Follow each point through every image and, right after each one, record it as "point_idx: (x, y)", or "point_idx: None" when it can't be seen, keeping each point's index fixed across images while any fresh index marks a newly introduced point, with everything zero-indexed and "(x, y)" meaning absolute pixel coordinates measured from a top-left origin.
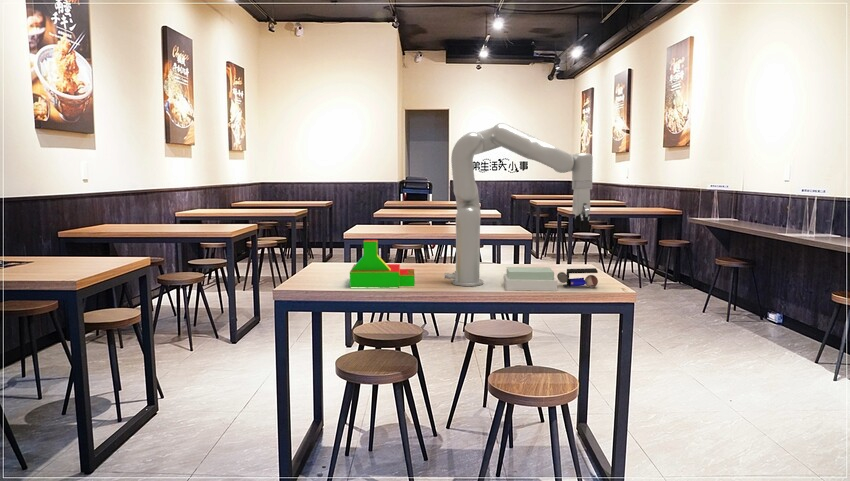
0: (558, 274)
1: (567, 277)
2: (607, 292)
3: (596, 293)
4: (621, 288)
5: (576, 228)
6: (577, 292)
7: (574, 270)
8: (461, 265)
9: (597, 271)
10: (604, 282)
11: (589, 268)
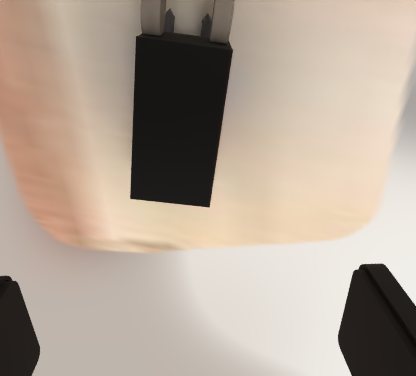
0: None
1: (142, 33)
2: (80, 184)
3: (48, 139)
4: (167, 244)
5: (357, 276)
6: (47, 59)
7: (175, 88)
8: None
9: (130, 197)
10: (281, 215)
11: (212, 177)
